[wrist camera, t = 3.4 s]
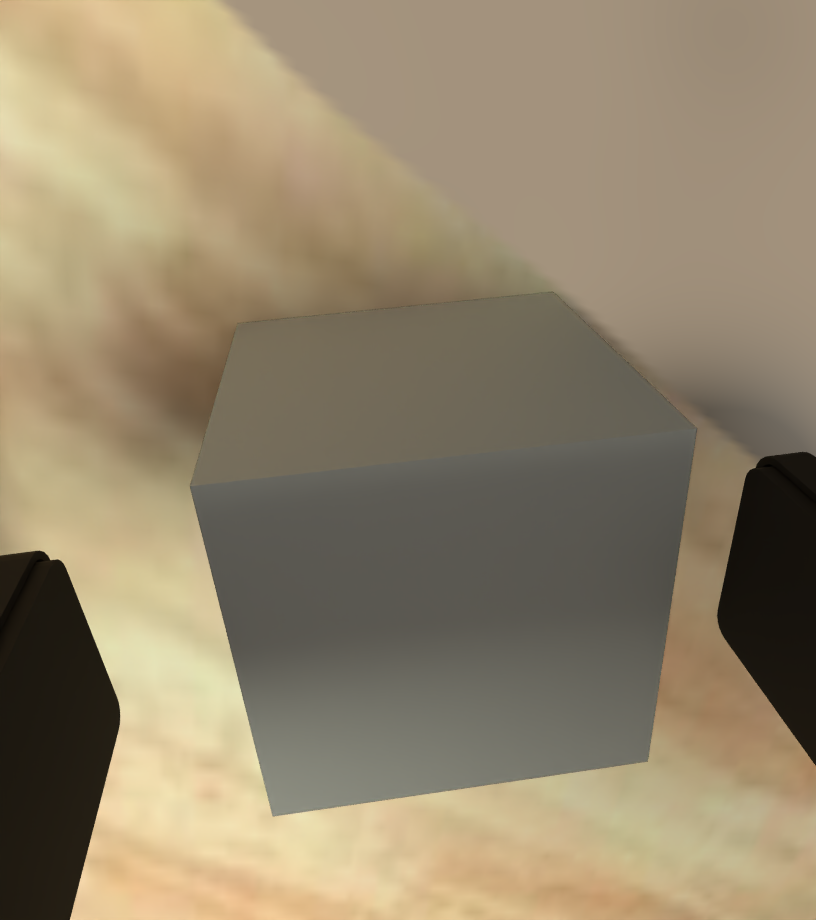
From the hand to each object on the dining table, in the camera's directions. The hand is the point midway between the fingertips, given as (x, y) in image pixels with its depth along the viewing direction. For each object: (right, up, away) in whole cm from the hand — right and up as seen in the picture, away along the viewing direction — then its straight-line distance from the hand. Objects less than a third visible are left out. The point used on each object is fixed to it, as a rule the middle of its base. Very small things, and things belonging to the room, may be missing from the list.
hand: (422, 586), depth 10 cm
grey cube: (0, +2, +5) cm, 5 cm away
